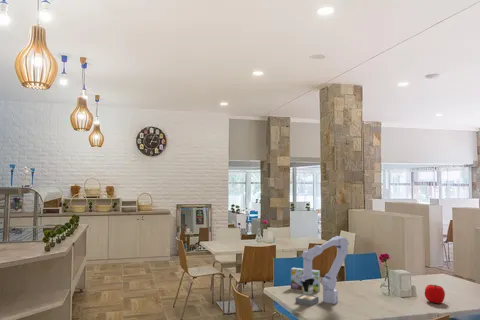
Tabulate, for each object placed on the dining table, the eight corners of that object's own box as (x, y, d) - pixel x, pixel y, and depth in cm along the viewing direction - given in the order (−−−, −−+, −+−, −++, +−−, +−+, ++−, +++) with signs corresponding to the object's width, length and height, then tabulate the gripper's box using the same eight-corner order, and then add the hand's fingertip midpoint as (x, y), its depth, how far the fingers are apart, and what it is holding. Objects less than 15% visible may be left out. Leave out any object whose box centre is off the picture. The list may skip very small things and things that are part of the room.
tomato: (434, 305, 259) (433, 287, 260) (419, 300, 272) (419, 282, 273) (449, 304, 262) (449, 286, 263) (434, 298, 275) (434, 281, 276)
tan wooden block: (315, 302, 262) (315, 297, 263) (310, 305, 256) (310, 300, 256) (304, 299, 267) (304, 295, 268) (298, 302, 261) (298, 297, 261)
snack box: (290, 288, 299) (290, 268, 300) (293, 287, 304) (293, 267, 305) (318, 292, 289) (318, 271, 290) (320, 290, 294) (320, 270, 295)
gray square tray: (318, 303, 263) (318, 296, 263) (311, 307, 254) (311, 300, 254) (303, 300, 269) (303, 294, 269) (295, 304, 260) (295, 297, 261)
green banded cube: (313, 293, 262) (313, 285, 262) (309, 294, 258) (309, 286, 258) (306, 291, 264) (306, 284, 265) (303, 293, 260) (303, 285, 261)
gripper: (307, 267, 270) (307, 287, 269) (297, 270, 259) (297, 292, 258) (316, 268, 266) (317, 289, 265) (307, 272, 254) (307, 293, 254)
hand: (307, 290), depth 261 cm, fingers closed on green banded cube, 5 cm apart
